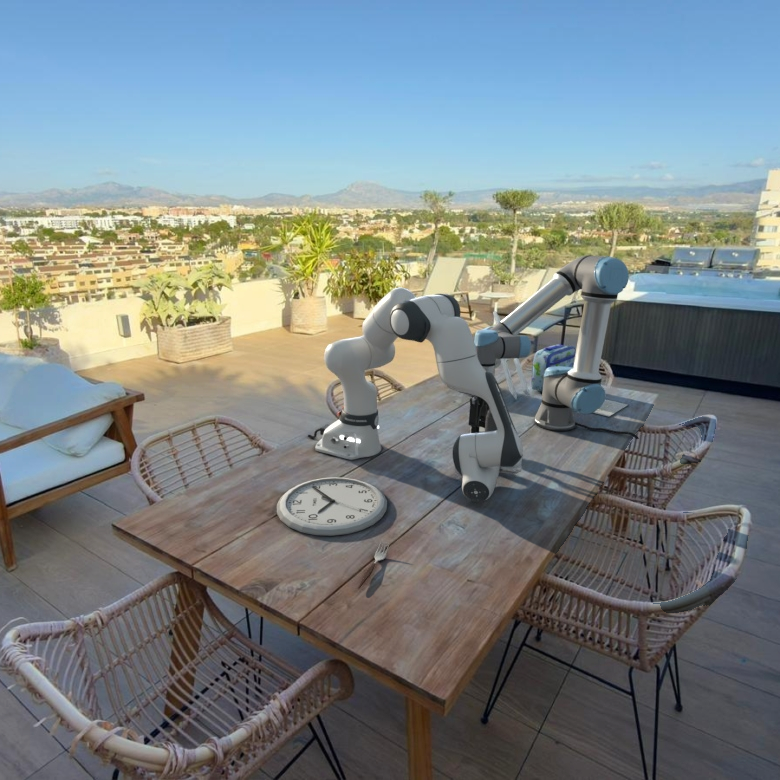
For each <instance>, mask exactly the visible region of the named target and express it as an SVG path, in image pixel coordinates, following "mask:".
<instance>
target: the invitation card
mask: <svg viewBox="0 0 780 780" xmlns="http://www.w3.org/2000/svg"><path fill="white" fill-rule="evenodd" d="M628 406H629V404H627V403H623V402H618V401H614V400H609V399H606V398H605V401H604V403H603V404H602V406H601V407H600V408H599V409H597V410H596V411H595V412H593V413H592V414H596V415H600V416H604V417H608V418H609V417H611V416H613V415H614V414H616V413H617V412H619V411H621V410H623V409H624V408H626V407H628Z"/></svg>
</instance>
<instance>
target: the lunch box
mask: <svg viewBox="0 0 780 780" xmlns="http://www.w3.org/2000/svg"><path fill="white" fill-rule="evenodd" d="M575 354H576V347H575V346H569V345H565V344H554V345H550V346H547V347H544V348H542V349H541V348H540V349H539V350H537V351H536V352H535V353H534V356H533V360H532V367H531V368H532V369H531V382H530V383H531V386H530V387H531V389H532V390H533V391H537V392H541V393H542V392H543V382H544V374H545V370H546V369H547V368H549V367H557V366H562V367H573V365H574V359H575Z"/></svg>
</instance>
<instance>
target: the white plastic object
mask: <svg viewBox="0 0 780 780" xmlns="http://www.w3.org/2000/svg"><path fill="white" fill-rule="evenodd" d="M492 315H493V319H494V321H495V326H496V325H497V324H498V323H499V322H501V321H502V320H501V318H500V315H499V314H498V312H497V311H496V310H495V311H492ZM510 360H513V363H514V366H515V369H516V372H517V376H518V380H519V382H520V385H521V389H522V391H523V393H524V395H525V396H526V397H528V396H531V395H530V390H529V388H528V387H529V386H528V384H527V381H526V378H525V375H524V371H523V369H522V368H523V367H522V366H521V362H520V358H519V359H518V358H507V359H496V363H495V370H496V369H497V368H499V367H500V366H502V370H503V373H504V376H505V380H506V383H507V386H508V390H509V393H510V394H511V395H512V397H513V398H514V399H515V400H517V392H516V391H517V390H516V388H515V385H514V381H513V378H512V375H511V371H510V369H509V365H508V361H510Z"/></svg>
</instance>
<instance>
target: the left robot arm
mask: <svg viewBox="0 0 780 780" xmlns="http://www.w3.org/2000/svg"><path fill="white" fill-rule="evenodd" d="M361 326H362V327H361V329H362V330H361V331H362V335H360V336H356V337H350V338H349V337H348V338H342V339H338V340H337V341H333V342H332V343H329V344H328V345H327V346H326V347H325V349H324V353H323V361H324V364H325V366H326V368H327V369H328V370H329V371H330V373H331V374H334V376H336V378H338V380H339V382H340V385H341V387H342V394H343V406H342V407H341V408H340V410H339V411H338V412H337V415H336V417H337V418H338V419H337V420H335V421H334V422H332V423H331V424H328V423H327V424H325V425H323V426H321V427H319V428H317V429H315V430H314V433H313V435H311V434H308V435H307V437H308V438H310V439H315V438H316V437H317V435H318V432H320V433H319V434H320V435H321V436H322V438H321V439H319V440H318V441H317V443H316V444H315V448H314V449H315V451H316V452H318V453H324V454H327V455H331V456H334V457H338V458H342V459H346V460H349V461H353V460H357V459H360V458H368V457H369V458H370V457H372V456H375V455H377V454H379V453H380V452H381V451H382V445H381V443H380V438H379V430H378V429H380V425H379V417H380V416H379V409H378V389H377V386H375V384H374V383H373V382H371V381H369V380H367V379H366V374H365V373H366V371H369V370H373V369H378V368H381V367H384V366H386V365H388V364H390V363H391V362H393V360H394V358H395V355H396V345H395V341H396V340H397V339H398V338H399V339H400V340H401V339H402V340H406V341H412V342H416V343H419V344H420V343H423V342H424V341H425V340H427V341H428V342H429V343H430V344H431V346H433V351H434V357H435V362H436V363H435V364H436V367H437V373H438V375H439V378H440V381H442V383H443V384H444V385H445V386H446V387H448V388H450V389H452V390H453V391H456V392H460V393H464V394H469V395H471V396H474V395H476V396H478V397H480V398H482V399H484V400H485V401H486V402H487V404H488V405H489V408H490V410H491V413H492V416H493V418H494V421H495V424H496V426H497V430H496V431H489V432H480V433H470V432H469V433H462V434H459V436H458V437H457V438H456V440H455V441H454V443H453V447H452V461H453V465H454V472H455V474H457V475H460V476H461V480H462V481H461V490H462V495H464V497H465V498H466V499H467V500H469V501H471V502H474V503H483V502H485V501H487V500H488V499H489V498H491V496H492V495H493V493H494V491H495V488H496V485H497V480H498V478H499V474H500V473H502V474H509V475H516V474H518V473H521V472H522V469H523V468H522V464H523V456H524V454H523V453H524V448H523V442H522V440H521V438H520V435H519V434H518V432H517V430H516V428H515V425H514V423H513V420H512V417H511V415H510V412H509V409H508V407H507V404H506V401H505V398H504V396H503V392H502V390H501V388H500V386H499V383H498V381H497V379H496V377H495V376H493V374H492V373H490V372H487V371H486V370H485V369H484V368H483V367H482V366H481V364H480V362H479V360H478V357H477V352H476V347H475V343H474V337H473V334H472V331H471V328H470V326H469V323H468V322H467V320H465V319H464V318H462V317H461V306H460V303H459V302H458V300H457V298H455V297H454V296H453V295H450V294H447V293H435V294H428V295H427V294H426V295H422V296H418V297H416V296H415V294H414V293H413V292H412V291H410V290H409V289H407V288H405V287H395V288H393V289H392V290H390V291H389V292H387V294H385V295H384V296H383V297H382V298H381V299H380V300H379V301H378V302H377V304H376V305H375V306H374V307H373V309H372V310H371V311H370V313H369V314H368V315H367V316H366V317H365V319H364V320H363V323H362V325H361Z"/></svg>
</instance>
